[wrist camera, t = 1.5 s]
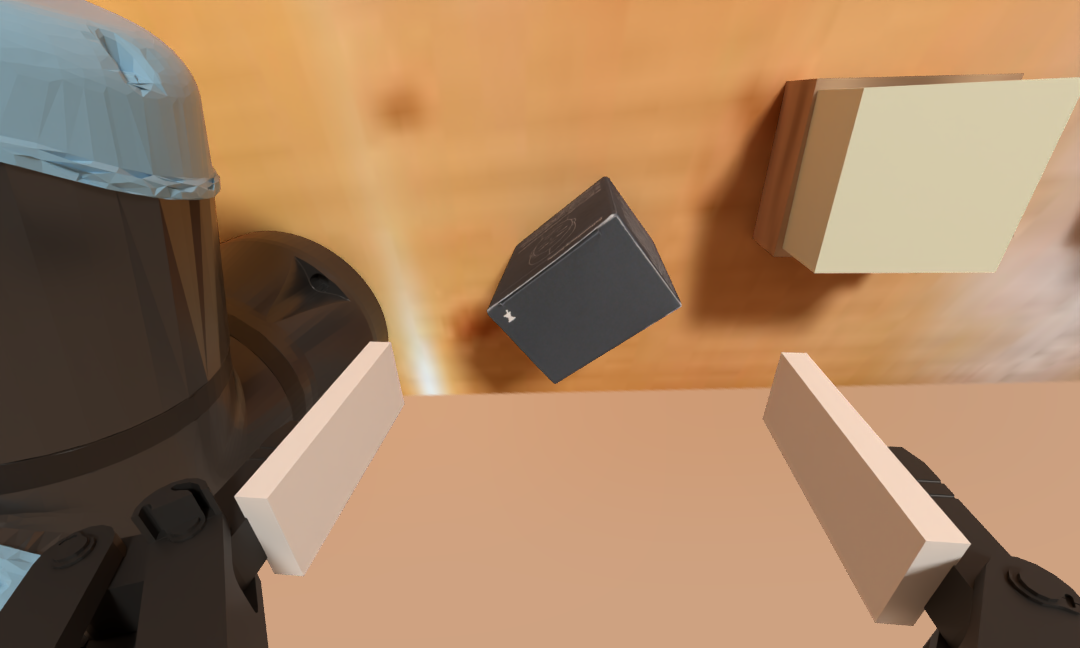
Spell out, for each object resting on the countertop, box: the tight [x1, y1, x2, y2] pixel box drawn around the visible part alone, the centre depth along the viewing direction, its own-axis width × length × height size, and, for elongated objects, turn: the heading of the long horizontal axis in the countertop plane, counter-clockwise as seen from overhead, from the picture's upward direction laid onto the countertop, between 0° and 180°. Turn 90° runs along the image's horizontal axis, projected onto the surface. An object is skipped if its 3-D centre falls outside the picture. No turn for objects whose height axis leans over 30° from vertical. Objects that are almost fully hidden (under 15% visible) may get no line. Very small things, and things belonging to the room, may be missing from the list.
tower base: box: [752, 73, 1024, 257], centre depth 24 cm, size 9×9×4 cm
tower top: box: [782, 77, 1080, 273], centre depth 20 cm, size 8×8×4 cm
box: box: [487, 177, 682, 384], centre depth 25 cm, size 8×6×11 cm
